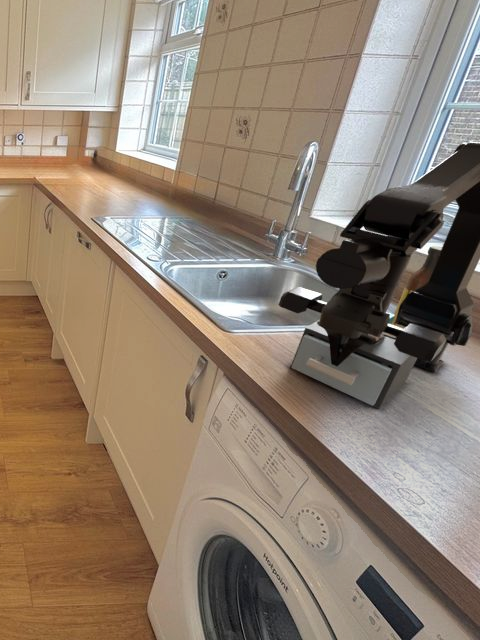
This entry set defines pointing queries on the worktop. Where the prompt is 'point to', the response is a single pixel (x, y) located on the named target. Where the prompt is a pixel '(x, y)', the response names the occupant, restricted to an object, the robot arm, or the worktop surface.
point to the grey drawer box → (379, 352)
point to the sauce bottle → (419, 277)
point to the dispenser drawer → (342, 370)
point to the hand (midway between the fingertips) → (335, 364)
